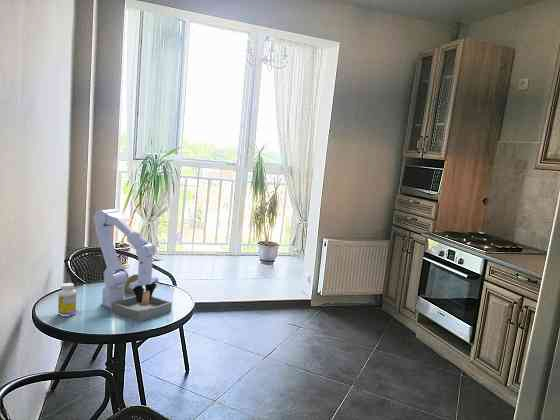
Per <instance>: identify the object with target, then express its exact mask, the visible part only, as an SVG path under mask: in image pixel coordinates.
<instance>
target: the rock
mask: <svg viewBox="0 0 560 420" xmlns="http://www.w3.org/2000/svg"><path fill="white" fill-rule="evenodd" d="M137 280H138V274H132V275H131V276H129V279H128V281H127V282H126V285H125V291H124V295H129V294H135V293H134V291H133V289H132V288H130V283H133V282H135V281H137ZM141 287H142V288H144V285H143V286H141Z"/></svg>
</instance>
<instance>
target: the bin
mask: <svg viewBox="0 0 560 420" xmlns="http://www.w3.org/2000/svg"><path fill="white" fill-rule="evenodd" d="M172 304H173V303H172V301H169V300H165V299H162V298H160V297H156V296H153V295H152V296H151V300H149V305H147V306H140V305H138V302H137V300H136V296H135V295H134V296H131V297H127V298H126V297H125V298H124V299H122V300H119V301H115V302H112V303H111V308H110V309H111V313H114V314H118V315H119V316H121V317H125V318H128V319H131V320H133V321H135V322H139V323H141V322H143V321H146V320H149V319H152V318H155V317H157V316H158V317H159V316H160V315H163V314H166V313H167V314H168V313H169V312H172V306H173V305H172Z"/></svg>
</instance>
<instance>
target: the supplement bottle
mask: <svg viewBox="0 0 560 420" xmlns="http://www.w3.org/2000/svg"><path fill="white" fill-rule="evenodd" d="M74 288H75V284H74V283H73V282H65V283H61V290H59V292H58V304H57V305H58V306H57V307H58V308H57V312H58V313H60V314H62V315H72V316H73V314H74V315H75V314H76V313H77V290H76V289H74ZM58 313H57V314H58Z"/></svg>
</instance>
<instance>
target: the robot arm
mask: <svg viewBox="0 0 560 420" xmlns="http://www.w3.org/2000/svg"><path fill="white" fill-rule="evenodd" d="M122 216H123V215H122V213H121V212H119V209H116V208H112V209H111V208H110V209H98V210H97V211H95V214H94V216H93V222H94V224H95V233H96V236H97V240H98V242H99V246H100V250H101V252H102V257H103V260H104V262H105V266H106V268H105V270H104V271H103V277H104V279H103V282H104V283H103V284H105V286H104V287H103V290H102V301H101V302H100V305H102V306H105V307H107V308H109V309H111V303H112V302H115V301H119V300H122V299H125V294H124V291H125V285H126V282H127V281H128V279H129V277H130V276H129V272H127V270H126V269H125V266H124V265H123V264H121V263H120V261H119V258H118V255H117V252H116V249H115V244H114V242H113V239H112V234H111V232H110V231H111V229H112V227H116V228H117V229H118V230H119V231H120V232H121V233H123V235H124V236H126V241H127V242H128V243H129V244H130V245H131V246H132V247H133V249H135V251H136V252H135V253H136V255H137V260H138V271H137V272H138V274H137V275H138V280H137V281H135V282H133V283H130V288H132V289H133V291H134V293H133V294H134V296H136V300H137V302H138V303H141V302H142V294H143V291H144V289H146V290H150V300H151V296H153V293H154V291H155V289H156V288H157V285H158V284H157V283H159V280H160V279H159V277H156V276H154V277H153V256H154V255H155V254H156V252H157V251H156V250H157V248H156V246H155V244H153V243H152V242H149V241H148V240H146V239H145V238H144V237H143V236H142V234H141V232H138V231H134V230H133V229H132V228H131V227H130V225H129V224H128V223H127V222H126V220H125V219H124V218H123V217H122ZM141 286H143V288H142V287H141ZM144 287H145V288H144Z"/></svg>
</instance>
